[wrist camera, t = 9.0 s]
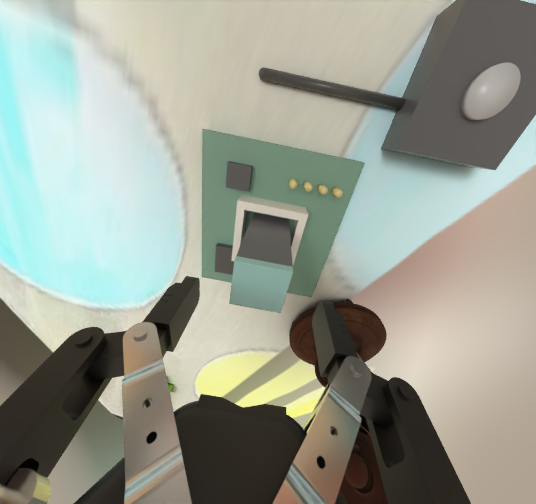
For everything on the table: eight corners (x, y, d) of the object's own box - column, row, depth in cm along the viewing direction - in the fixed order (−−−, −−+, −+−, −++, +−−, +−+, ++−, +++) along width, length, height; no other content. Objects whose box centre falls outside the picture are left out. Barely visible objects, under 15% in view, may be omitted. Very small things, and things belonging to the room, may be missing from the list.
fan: (270, -24, 14) (267, -71, 11) (547, 42, 15) (617, 15, 12) (253, 121, 19) (248, 117, 15) (466, 166, 19) (502, 170, 16)
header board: (206, 129, 19) (191, 127, 16) (360, 161, 20) (375, 165, 16) (204, 272, 28) (194, 288, 25) (310, 291, 29) (313, 310, 25)
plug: (254, 211, 22) (234, 260, 13) (288, 218, 22) (293, 271, 13) (248, 248, 24) (228, 312, 15) (279, 254, 24) (277, 321, 15)
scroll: (391, 338, 33) (516, 558, 15) (314, 362, 38) (343, 550, 20) (357, 280, 27) (489, 522, 10) (272, 317, 32) (261, 522, 15)
